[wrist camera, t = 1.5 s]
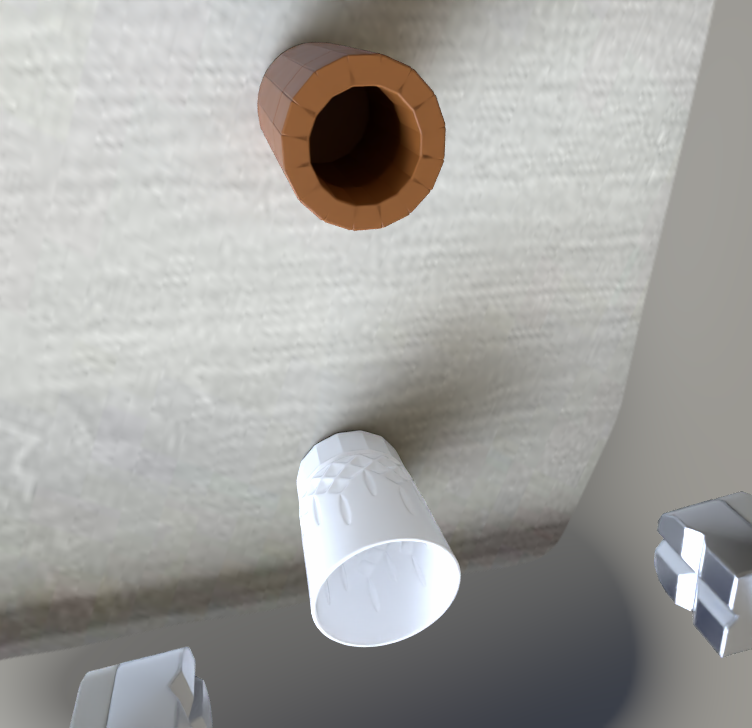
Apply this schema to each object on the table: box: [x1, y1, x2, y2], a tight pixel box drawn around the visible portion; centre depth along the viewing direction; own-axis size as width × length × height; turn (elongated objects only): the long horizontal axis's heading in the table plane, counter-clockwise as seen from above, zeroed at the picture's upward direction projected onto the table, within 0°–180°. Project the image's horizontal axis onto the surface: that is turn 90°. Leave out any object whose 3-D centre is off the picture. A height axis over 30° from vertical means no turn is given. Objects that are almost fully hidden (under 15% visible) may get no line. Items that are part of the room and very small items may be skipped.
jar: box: [257, 42, 446, 231], centre depth 24 cm, size 6×6×10 cm
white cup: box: [297, 430, 461, 647], centre depth 35 cm, size 8×8×10 cm
